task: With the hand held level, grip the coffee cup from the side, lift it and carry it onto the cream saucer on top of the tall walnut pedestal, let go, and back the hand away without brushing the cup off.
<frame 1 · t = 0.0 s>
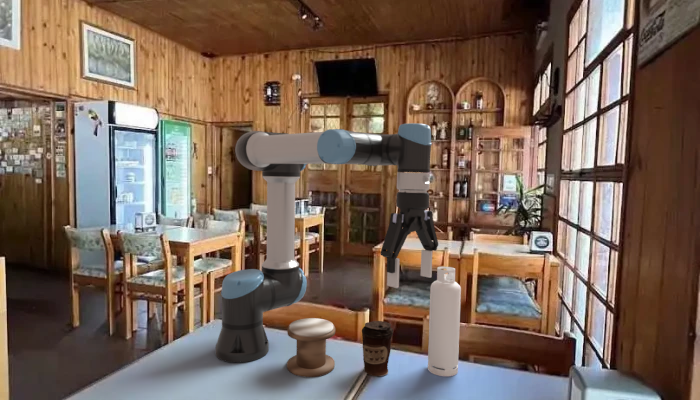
hand: (410, 281, 102), 28 cm above the table, tool pointing down, fingers open, 13 cm apart
cup pedestal: (310, 365, 119), on the table
coffee cup: (376, 372, 116), on the table
bottle: (442, 370, 118), on the table
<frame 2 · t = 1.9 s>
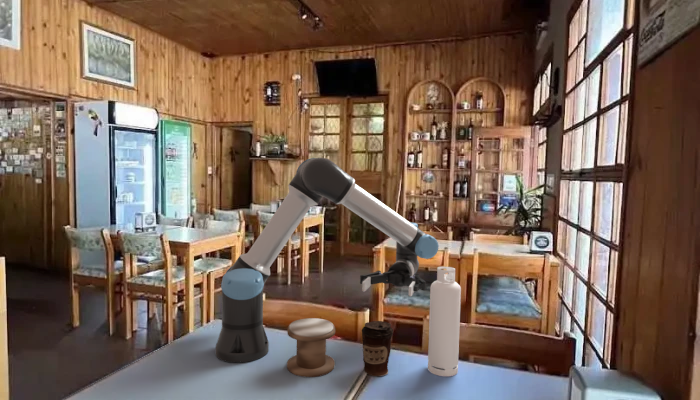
hand: (386, 289, 123), 20 cm above the table, tool horizontal, fingers open, 13 cm apart
nothing on the table moved.
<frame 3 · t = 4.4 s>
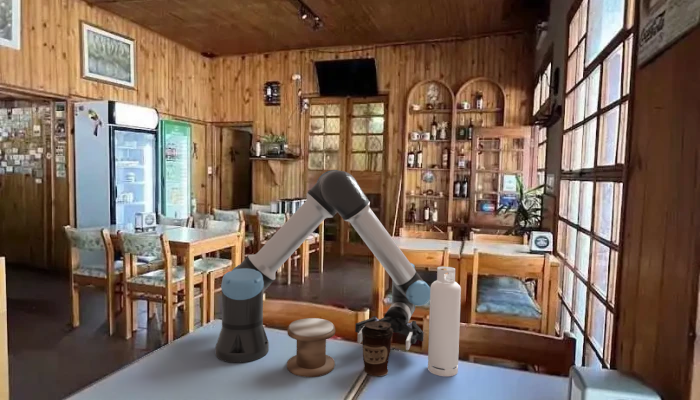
hand: (382, 341, 119), 7 cm above the table, tool horizontal, fingers open, 13 cm apart
nothing on the table moved.
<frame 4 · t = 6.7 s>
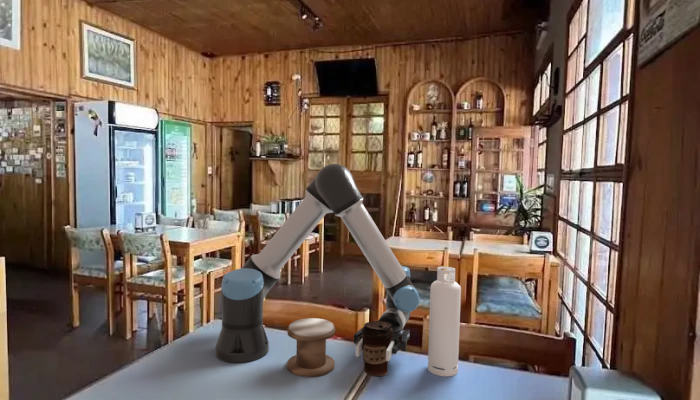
hand: (372, 353, 111), 7 cm above the table, tool horizontal, fingers closed on coffee cup, 7 cm apart
coffee cup: (376, 372, 116), on the table, touching gripper
everything else where it was.
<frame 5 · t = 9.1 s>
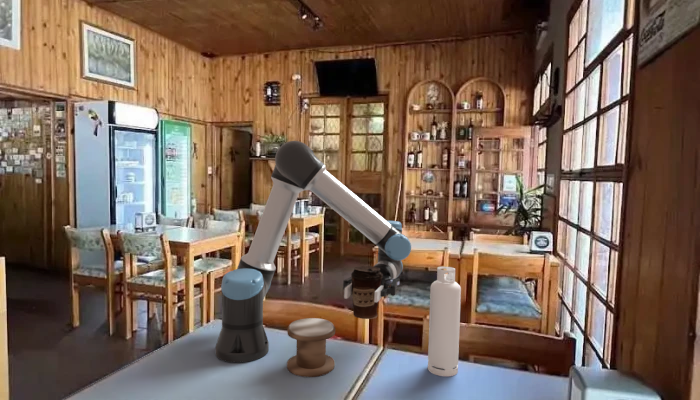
hand: (360, 295, 111), 22 cm above the table, tool horizontal, fingers closed on coffee cup, 7 cm apart
coffee cup: (365, 316, 116), point 15 cm above the table, touching gripper
everything else where it was.
when the fingers open (19 cm above the table, at t = 11.5 s): coffee cup stays where it is, resting on cup pedestal.
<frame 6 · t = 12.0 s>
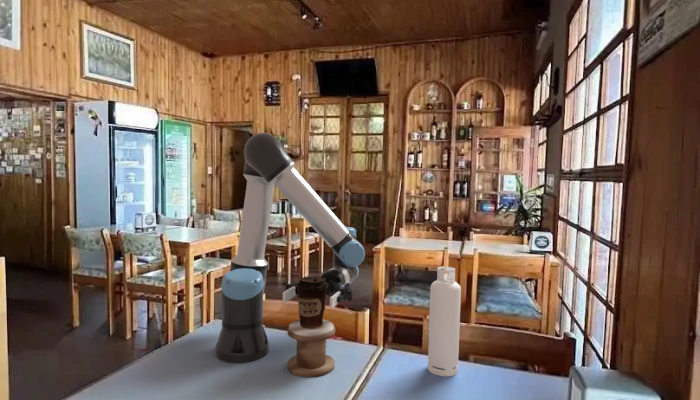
hand: (307, 300, 114), 19 cm above the table, tool horizontal, fingers open, 13 cm apart
coffee cup: (311, 326, 118), point 11 cm above the table, touching cup pedestal
everything else where it was.
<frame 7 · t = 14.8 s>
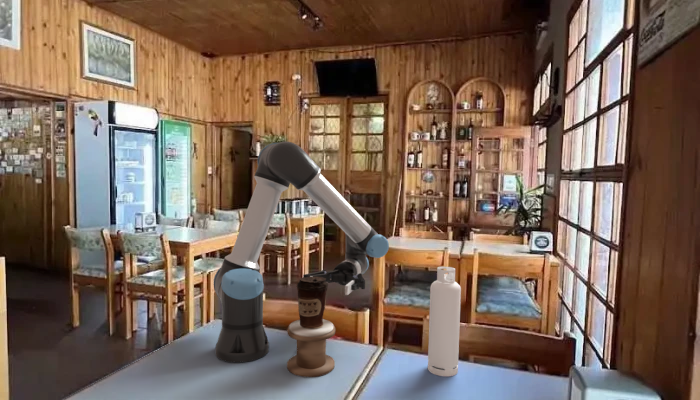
hand: (324, 288, 126), 19 cm above the table, tool horizontal, fingers open, 13 cm apart
nothing on the table moved.
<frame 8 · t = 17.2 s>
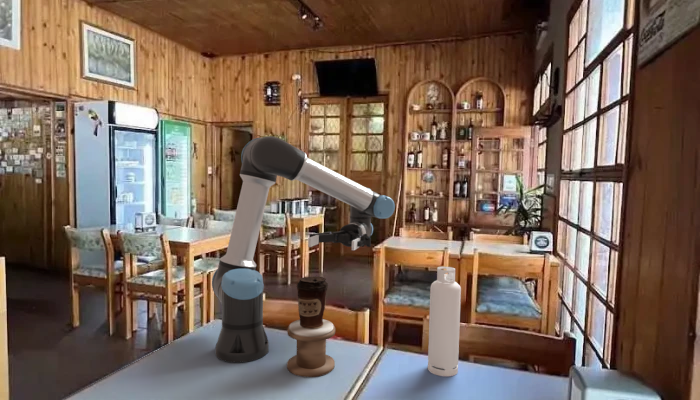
hand: (330, 244, 127), 32 cm above the table, tool horizontal, fingers open, 13 cm apart
nothing on the table moved.
at the end: coffee cup inside the target area on the cup pedestal (0.1 cm from its centre), point 11.1 cm above the cup pedestal's base; coffee cup tilted 0°; the gripper is holding nothing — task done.
